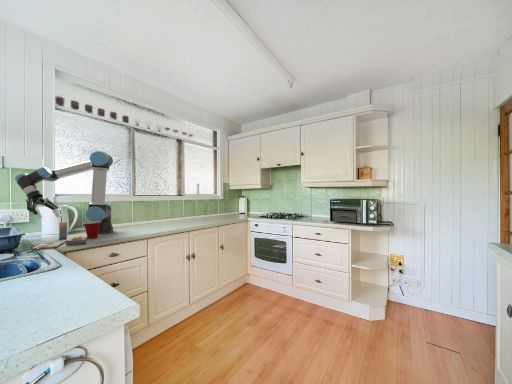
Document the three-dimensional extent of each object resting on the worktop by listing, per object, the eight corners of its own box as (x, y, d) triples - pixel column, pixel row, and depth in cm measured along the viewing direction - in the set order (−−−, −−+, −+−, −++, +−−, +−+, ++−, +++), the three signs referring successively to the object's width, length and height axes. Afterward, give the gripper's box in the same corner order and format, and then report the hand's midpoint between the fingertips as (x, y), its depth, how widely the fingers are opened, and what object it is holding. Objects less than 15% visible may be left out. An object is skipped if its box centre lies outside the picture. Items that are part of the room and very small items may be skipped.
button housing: (87, 241, 147) (87, 236, 147) (84, 244, 139) (84, 239, 139) (70, 242, 143) (70, 238, 143) (65, 245, 135) (66, 240, 135)
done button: (82, 239, 144) (82, 236, 144) (80, 240, 140) (80, 237, 140) (73, 239, 142) (74, 236, 142) (72, 241, 138) (72, 237, 138)
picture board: (67, 241, 146) (67, 239, 146) (56, 248, 129) (56, 246, 129) (45, 243, 141) (45, 241, 141) (31, 250, 123) (31, 248, 123)
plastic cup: (82, 237, 159) (82, 221, 159) (100, 235, 166) (101, 220, 166) (82, 240, 151) (82, 222, 151) (101, 238, 157) (102, 221, 158)
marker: (67, 238, 156) (67, 221, 156) (65, 239, 152) (66, 222, 152) (60, 238, 154) (60, 221, 154) (58, 240, 150) (58, 222, 150)
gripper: (46, 197, 167) (62, 219, 165) (8, 196, 142) (26, 222, 140) (54, 191, 167) (70, 213, 165) (17, 189, 142) (36, 215, 141)
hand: (50, 217), depth 153 cm, fingers open, 13 cm apart
